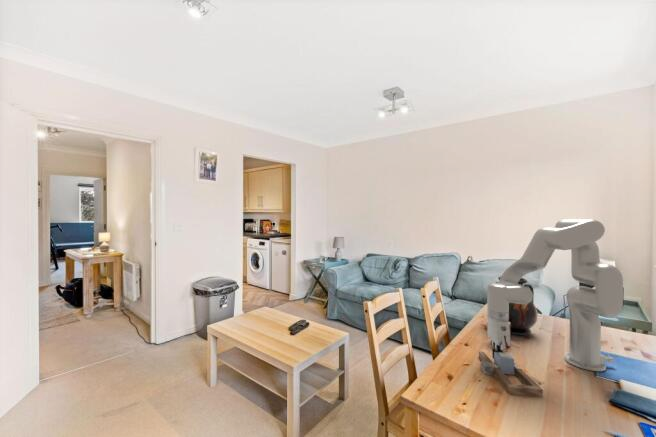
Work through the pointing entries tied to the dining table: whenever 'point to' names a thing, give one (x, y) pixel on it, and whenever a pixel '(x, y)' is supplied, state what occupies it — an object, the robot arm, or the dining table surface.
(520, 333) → the amphora vase
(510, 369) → the block
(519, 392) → the beam slot
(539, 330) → the dining table surface
